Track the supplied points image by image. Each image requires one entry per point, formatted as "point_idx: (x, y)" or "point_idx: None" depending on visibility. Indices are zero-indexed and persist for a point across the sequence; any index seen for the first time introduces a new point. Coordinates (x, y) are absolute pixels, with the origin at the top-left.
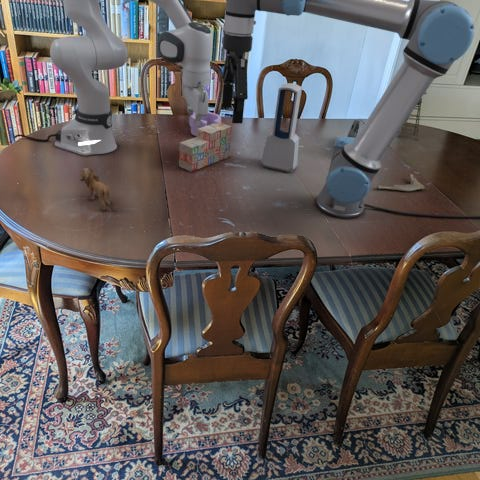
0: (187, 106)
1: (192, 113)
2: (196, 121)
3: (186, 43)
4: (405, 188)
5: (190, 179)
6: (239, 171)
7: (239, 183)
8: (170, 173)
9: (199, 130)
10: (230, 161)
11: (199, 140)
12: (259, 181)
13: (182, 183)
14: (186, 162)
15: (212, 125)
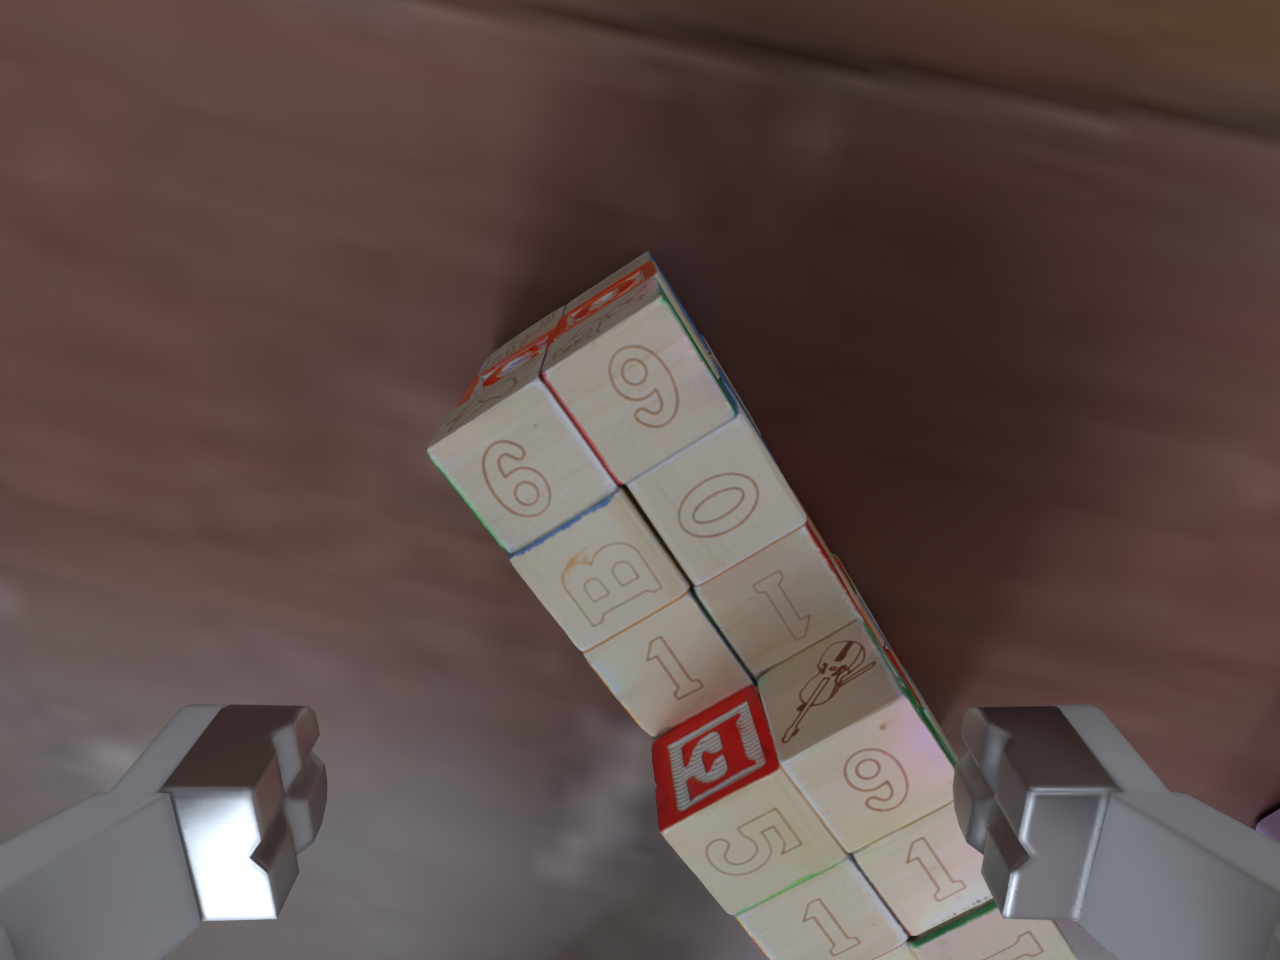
0: (1216, 845)
1: (968, 819)
2: (132, 793)
3: None
4: None
5: (304, 304)
6: (471, 805)
7: None
8: (477, 101)
9: (858, 708)
10: None
11: (715, 619)
12: None
13: (199, 186)
14: (543, 332)
15: (992, 933)
